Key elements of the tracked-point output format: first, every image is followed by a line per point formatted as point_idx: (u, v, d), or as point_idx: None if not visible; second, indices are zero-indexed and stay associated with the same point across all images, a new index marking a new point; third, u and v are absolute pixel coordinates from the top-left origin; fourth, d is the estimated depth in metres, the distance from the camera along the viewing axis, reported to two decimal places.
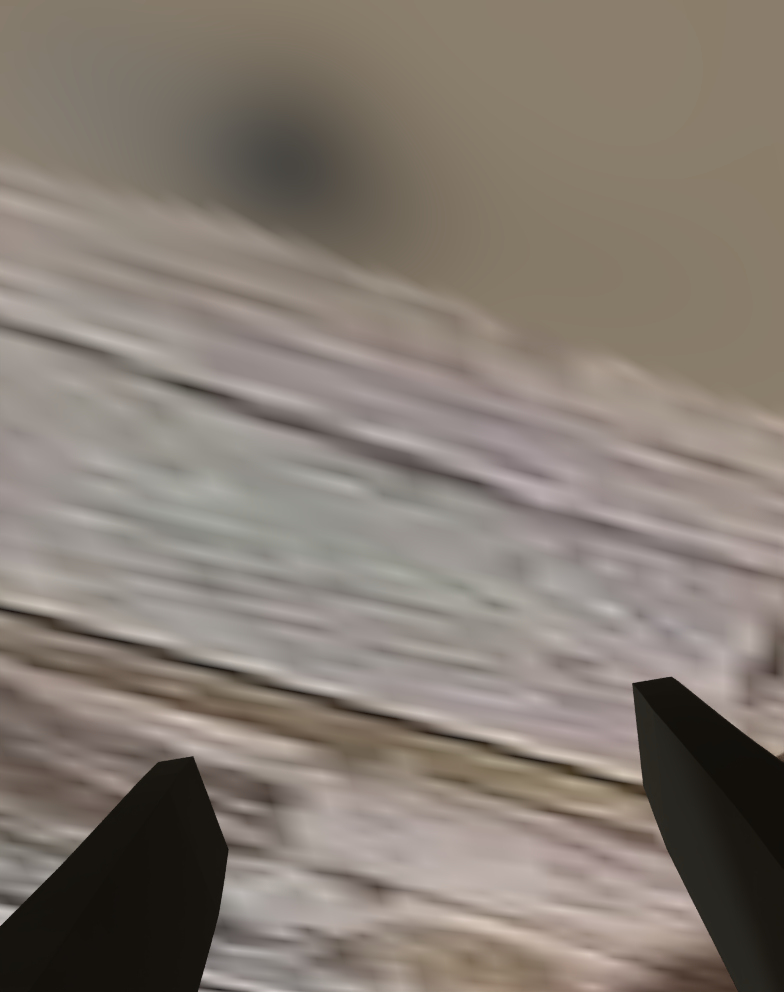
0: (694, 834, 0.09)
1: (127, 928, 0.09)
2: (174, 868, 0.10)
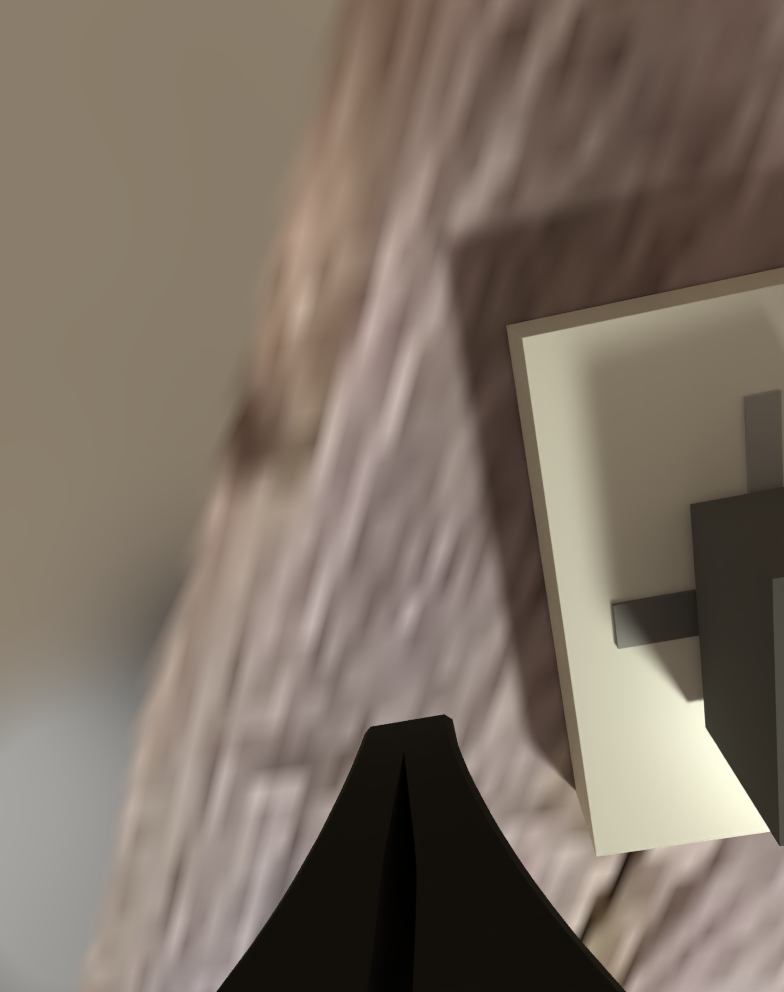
0: None
1: (401, 888, 0.08)
2: None
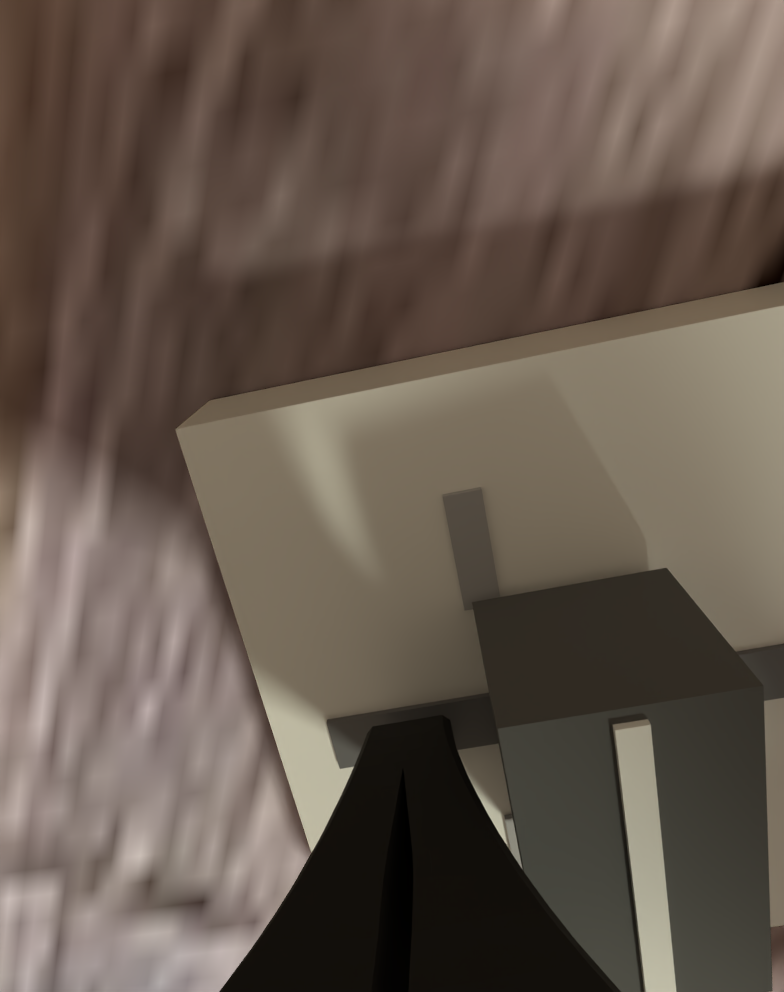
0: None
1: (404, 887, 0.08)
2: None
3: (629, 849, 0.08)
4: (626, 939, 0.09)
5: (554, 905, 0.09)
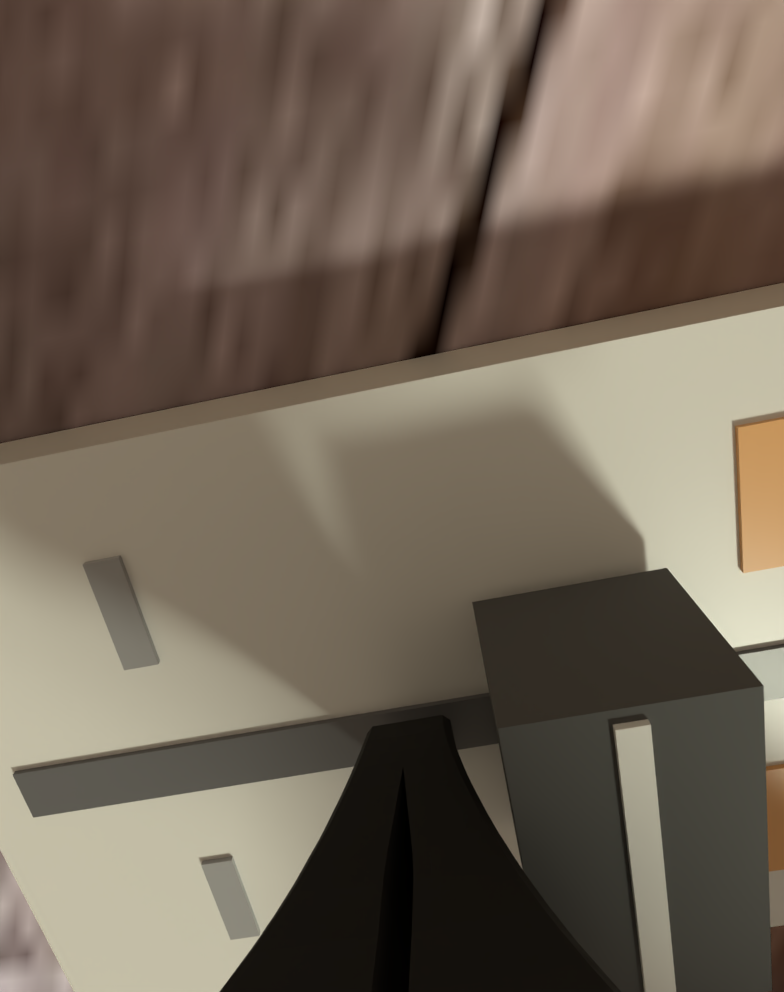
0: None
1: (404, 887, 0.08)
2: None
3: (630, 849, 0.08)
4: (626, 939, 0.09)
5: (554, 904, 0.09)
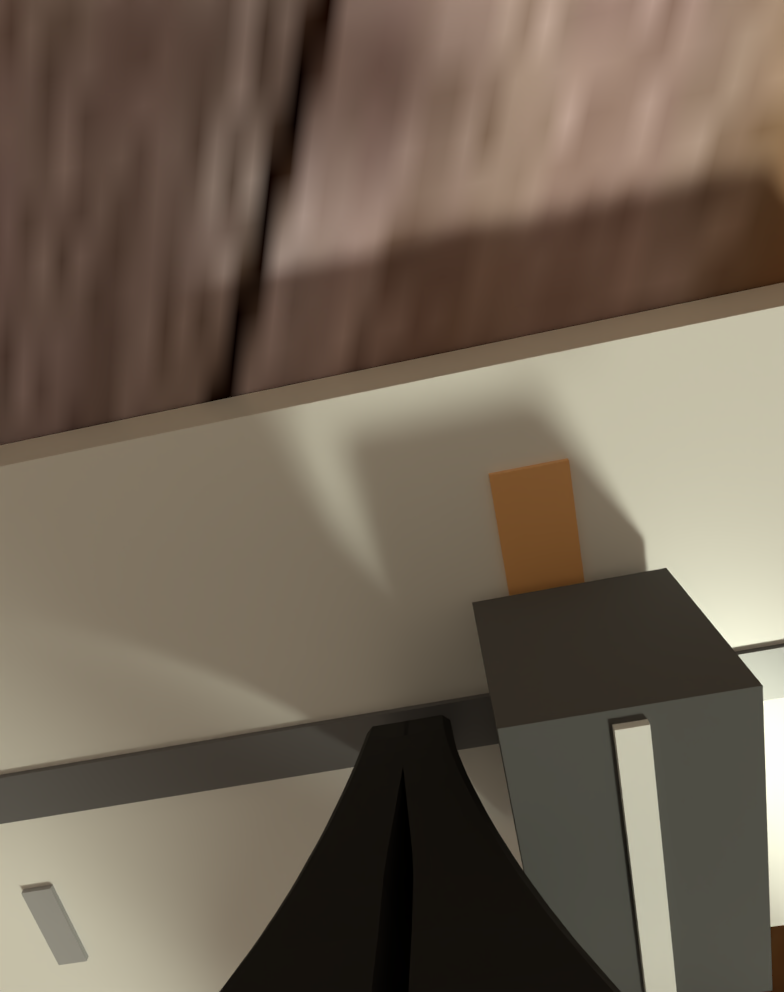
0: None
1: (403, 887, 0.08)
2: None
3: (629, 849, 0.09)
4: (626, 939, 0.09)
5: (554, 904, 0.09)
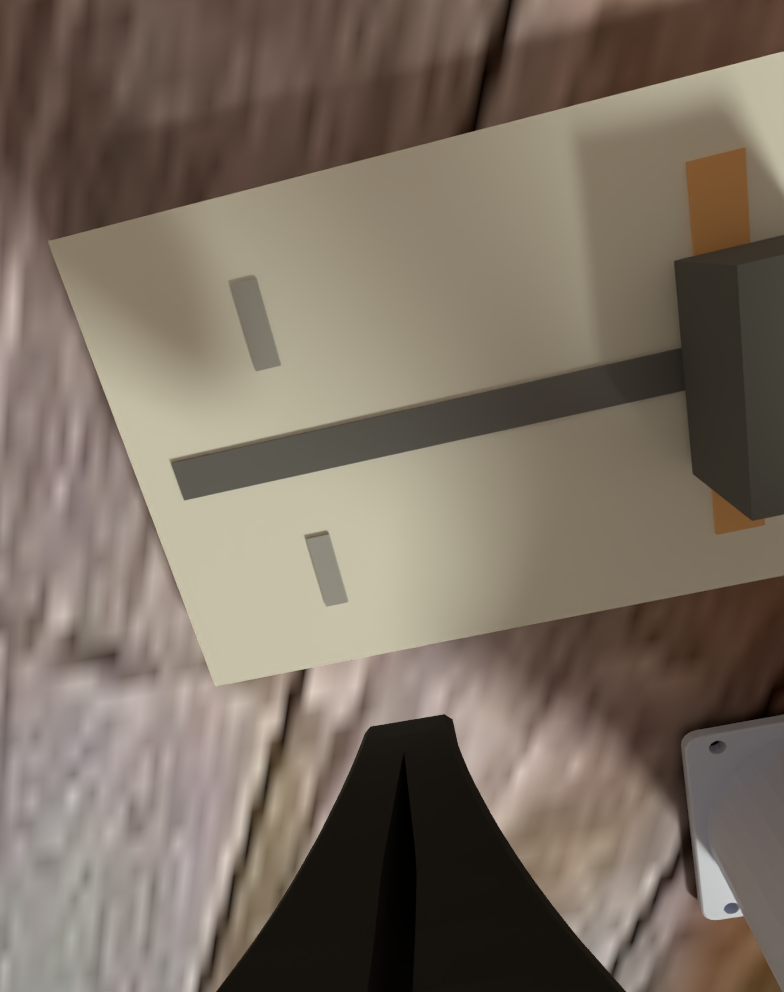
0: None
1: (401, 888, 0.08)
2: None
3: None
4: None
5: (762, 416, 0.13)
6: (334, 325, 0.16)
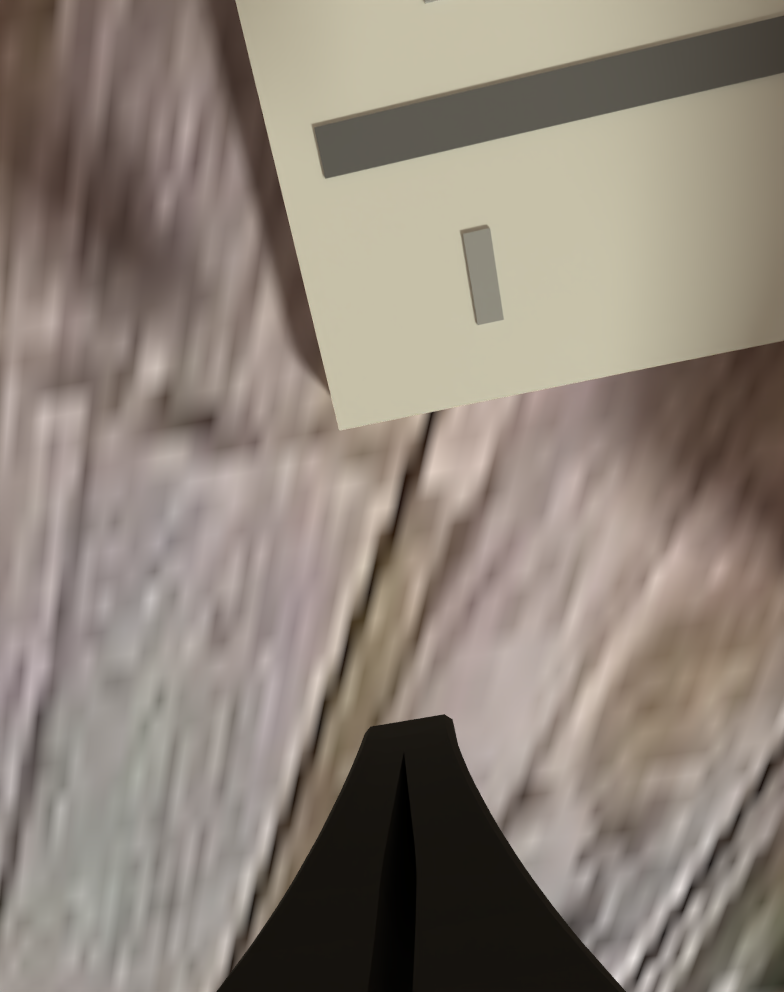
0: None
1: (401, 888, 0.08)
2: None
3: None
4: None
5: None
6: None
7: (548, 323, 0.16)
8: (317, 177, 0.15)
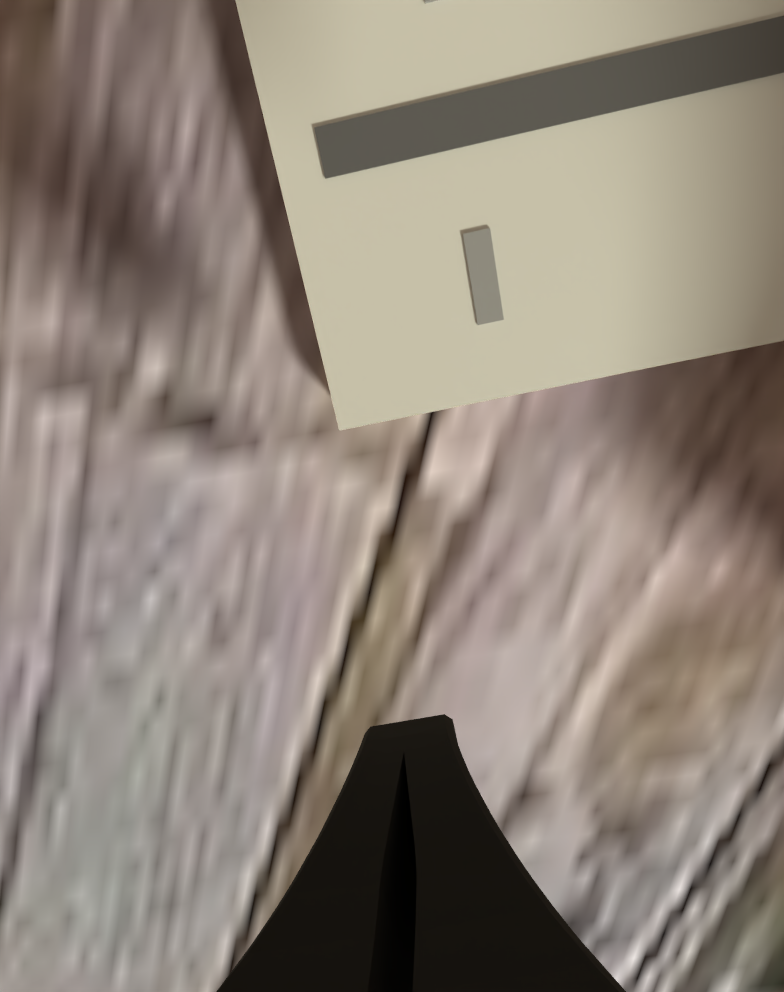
0: None
1: (401, 888, 0.08)
2: None
3: None
4: None
5: None
6: None
7: (548, 323, 0.16)
8: (317, 177, 0.15)
